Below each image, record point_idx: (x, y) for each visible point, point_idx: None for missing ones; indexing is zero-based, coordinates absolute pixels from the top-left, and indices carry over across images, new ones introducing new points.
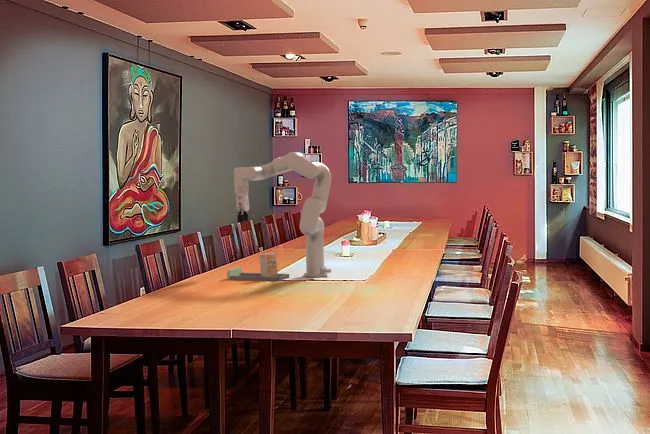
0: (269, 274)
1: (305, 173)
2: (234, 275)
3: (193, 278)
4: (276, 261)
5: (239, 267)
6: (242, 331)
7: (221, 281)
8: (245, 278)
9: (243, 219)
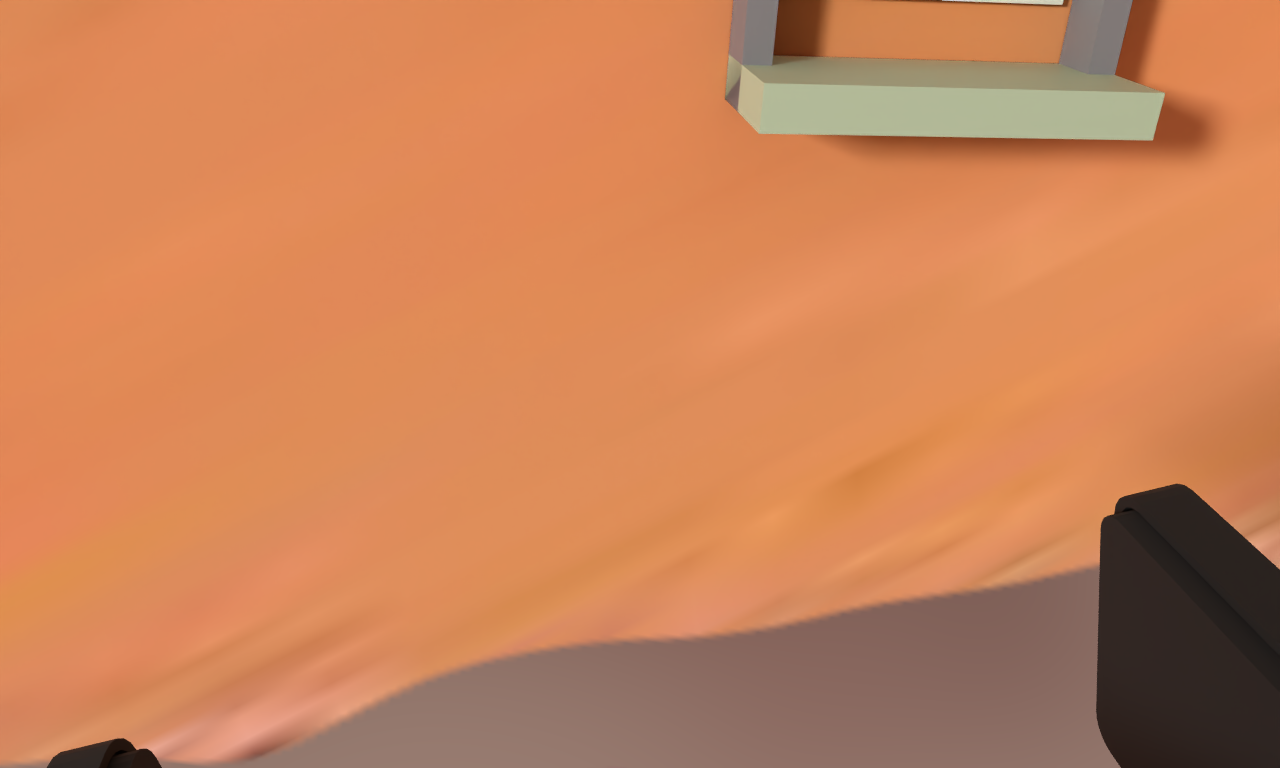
0: None
1: None
2: (968, 68)
3: (953, 575)
4: None
5: (828, 86)
6: None
7: (1227, 110)
8: None
9: (1250, 573)
